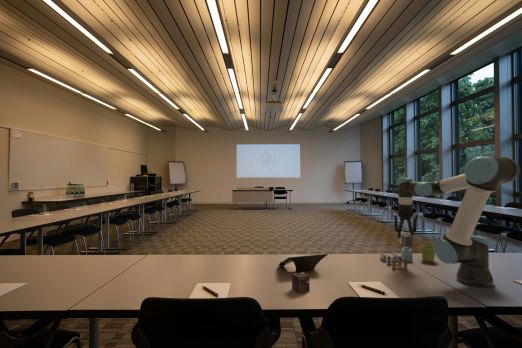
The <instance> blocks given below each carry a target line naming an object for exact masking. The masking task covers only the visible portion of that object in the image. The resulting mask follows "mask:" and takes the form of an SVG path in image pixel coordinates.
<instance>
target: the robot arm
mask: <svg viewBox="0 0 522 348" xmlns="http://www.w3.org/2000/svg"><path fill="white" fill-rule="evenodd" d="M463 170H464V171H463V173H462V174H459V175H456V176H451V177H448V178H445V179H441V180H438V181H413V177H412V178H411V177H400V178H398V185H397V186H398V188H397V189H398V190H397V191H398V197H397V198H398V201H397V202H398V205H397V207H398V210H397V213H396V214H392V216H393V223H394V224H393V227H394V230H393V231H394V232H396V233H397V239H398V238H399V242H398V243H399V244H400V245H402V233H401V232H402V229H403V225H404V222H405V221H406V223H407V227H408V228H407V229H408V232H407V234H409V235H410V236H412V239H413V234H414V233H416V232H417V221H418V217H419V216H418V215H416V214H414V213H413V202H414V200H413V195H414V196H421V197H426V196H427V197H428V196H445V195H447V194H449V193H453V192H456V191H462V190H465V193H464V195H463V198H462V200H461V203H460V205H459V207H458V210H457V212H456V215H455V217H454V220H453V222H452V225H451V227H450V229H449V230H446V231H445V232H444V234H443V237H442V238H440V239H437V240H436V241H435V242H434V245H433V246H434V251H435V256H436V257H437V258H438V260H440V261H441V262H442V263H444V264H449V265H451V264H452V265H455V264H459V266H458V270H457V272H456V275H455V276H456V280H457V281H458V282H460V283H461V284H465V285H467V286H472V287H473V286H474V287H481V288H483V287H484V288H490V287H494V281H495V280H494V277H493V275H492V273H491V271H490V265H489V263H490V260H489V259H490V255H489V253H490V244H489V240H488V238H487V237H484V236H480V235H473V234H474V230H475V228H476V227H477V224H478V222H479V220H480V217H481V215H482V213H483V211H484V209H485V206H486V204H487V203H488V199H489V197H490V195H491V193H495V192H497V191H498V188H499V186H500V184H508V183H511V182H513V181H515V180H516V179H517V178H518V176H519V174H520V165H518V163H517V162H516V161H515V160H514V159H513V158H510V157H506V156H487V155H486V156H477V157H474V158H472V159H471V160H469V161H468V162H467V163H466V165H465V167H464V169H463ZM398 218H399V219H398ZM411 219H412V221H411ZM398 220H399V222H398Z"/></svg>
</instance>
